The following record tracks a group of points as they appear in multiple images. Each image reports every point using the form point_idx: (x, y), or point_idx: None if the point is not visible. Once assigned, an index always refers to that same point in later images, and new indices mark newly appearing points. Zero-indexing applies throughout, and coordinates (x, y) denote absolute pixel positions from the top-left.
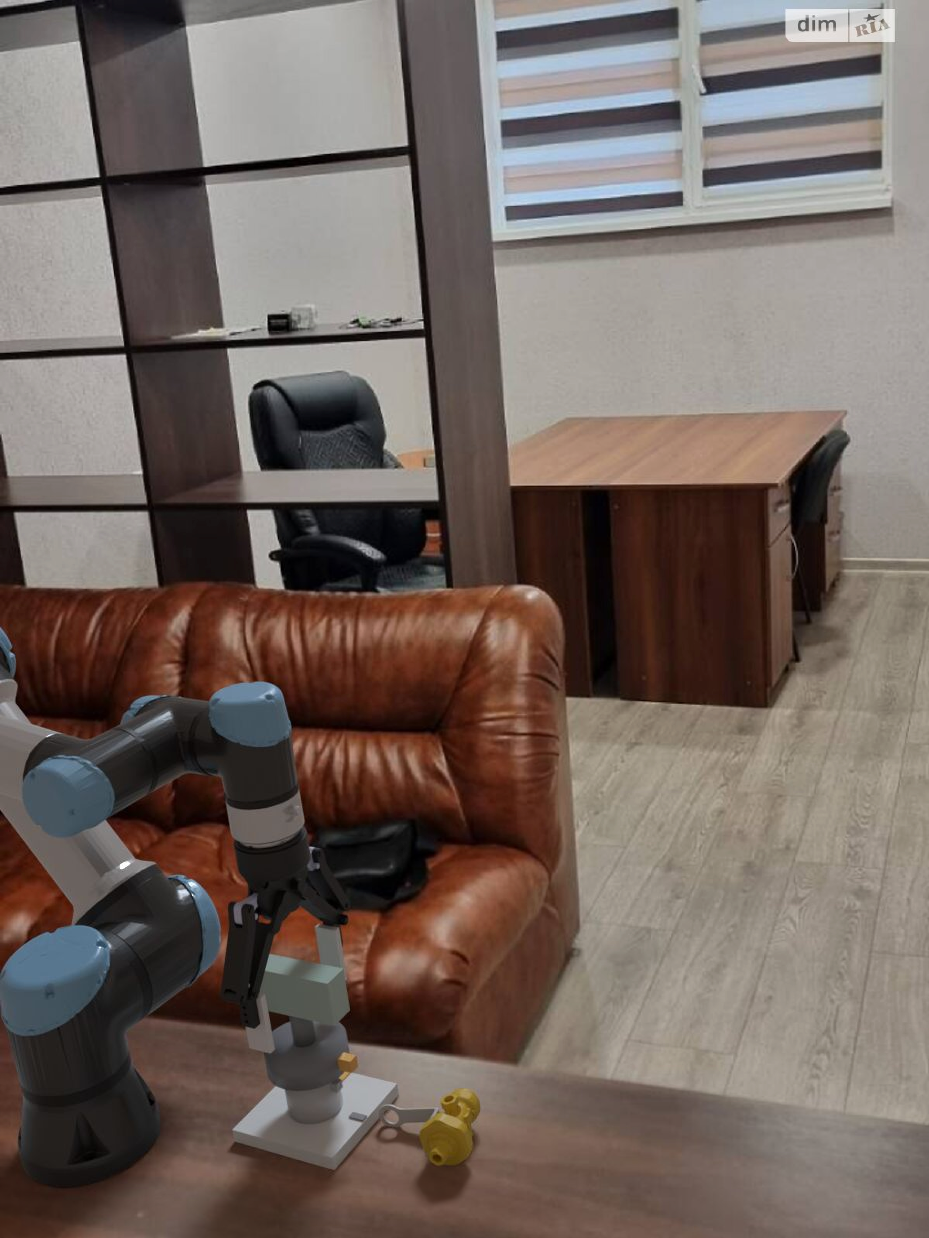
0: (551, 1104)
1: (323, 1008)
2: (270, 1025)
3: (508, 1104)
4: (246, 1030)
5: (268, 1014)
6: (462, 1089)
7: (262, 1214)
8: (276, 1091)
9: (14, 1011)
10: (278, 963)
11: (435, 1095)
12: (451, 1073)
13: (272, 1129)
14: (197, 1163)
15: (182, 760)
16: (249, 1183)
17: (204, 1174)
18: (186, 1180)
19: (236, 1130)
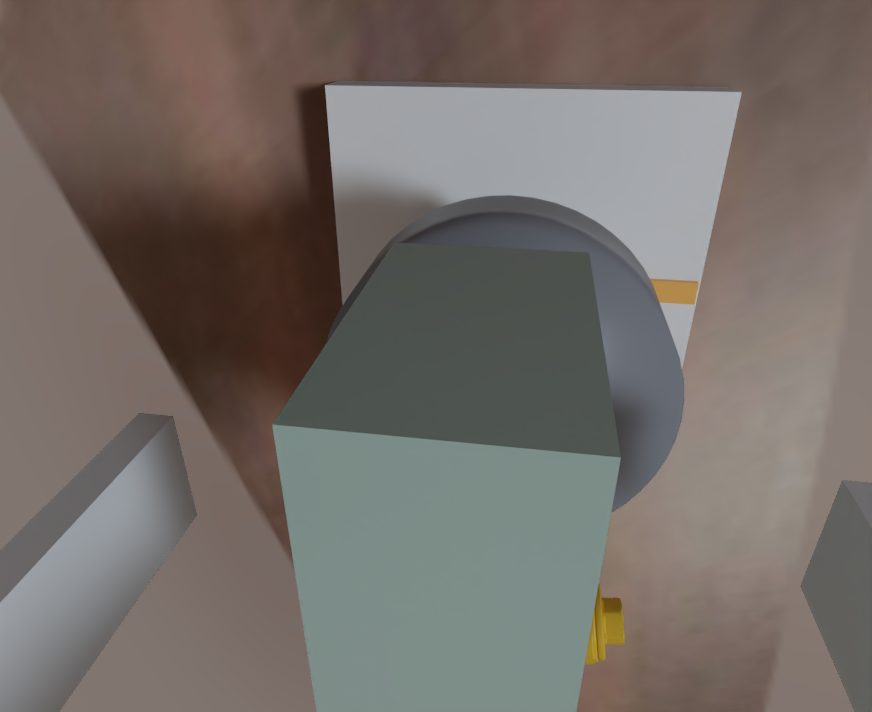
0: (689, 683)
1: None
2: (120, 620)
3: (674, 624)
4: (71, 482)
5: (79, 680)
6: (599, 649)
7: (179, 316)
8: (542, 112)
9: None
10: (451, 701)
11: (676, 495)
12: (775, 501)
13: (377, 213)
14: (215, 27)
15: None
16: (233, 230)
17: (195, 84)
18: (151, 46)
19: (327, 102)
